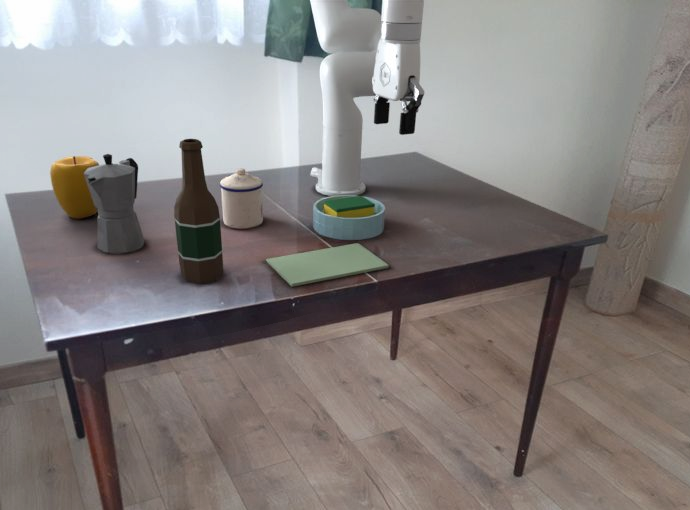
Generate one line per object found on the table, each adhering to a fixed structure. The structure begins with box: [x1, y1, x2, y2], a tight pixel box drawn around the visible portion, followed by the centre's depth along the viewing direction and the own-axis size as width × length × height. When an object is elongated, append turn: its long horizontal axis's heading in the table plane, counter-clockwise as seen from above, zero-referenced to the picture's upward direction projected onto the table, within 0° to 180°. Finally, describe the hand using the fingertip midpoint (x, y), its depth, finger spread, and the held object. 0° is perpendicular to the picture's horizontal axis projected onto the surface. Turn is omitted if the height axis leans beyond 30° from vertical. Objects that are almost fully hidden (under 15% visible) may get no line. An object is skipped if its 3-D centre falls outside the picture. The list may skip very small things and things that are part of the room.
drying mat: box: [266, 242, 390, 287], centre depth 120 cm, size 20×12×1 cm, turn 116°
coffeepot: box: [84, 153, 145, 255], centre depth 123 cm, size 15×9×18 cm, turn 162°
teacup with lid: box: [219, 167, 264, 230], centre depth 137 cm, size 12×9×12 cm
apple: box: [49, 155, 100, 220], centre depth 137 cm, size 11×11×13 cm
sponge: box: [324, 195, 375, 218], centre depth 135 cm, size 9×6×6 cm, turn 116°
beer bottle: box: [173, 138, 224, 285], centre depth 109 cm, size 8×8×24 cm
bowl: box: [312, 195, 386, 241], centre depth 135 cm, size 15×15×5 cm
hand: (393, 128), depth 126 cm, fingers open, 9 cm apart
